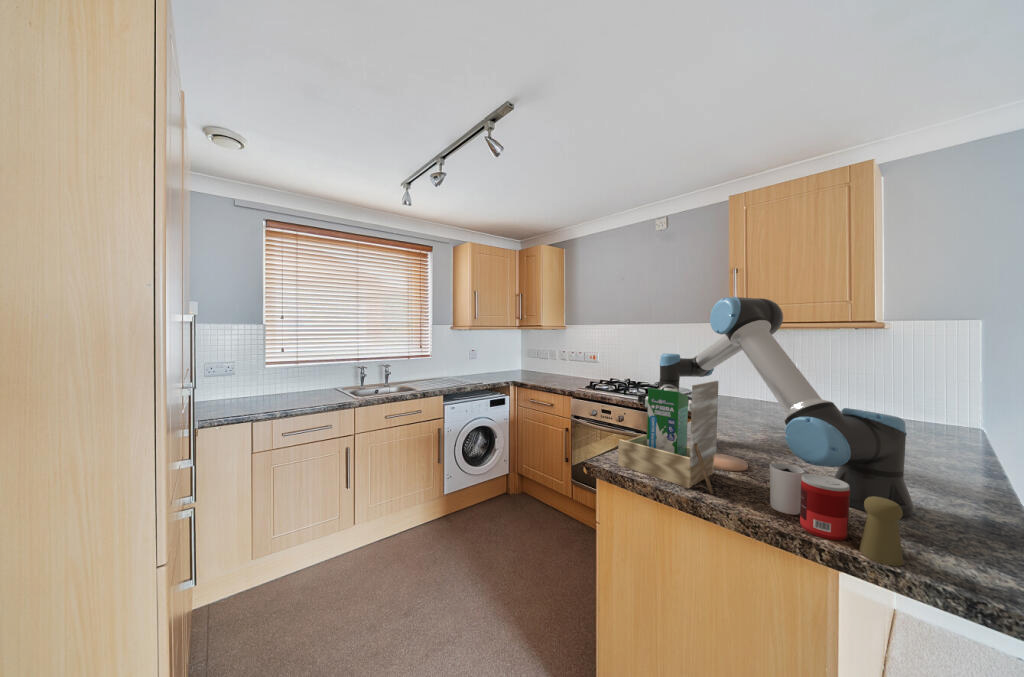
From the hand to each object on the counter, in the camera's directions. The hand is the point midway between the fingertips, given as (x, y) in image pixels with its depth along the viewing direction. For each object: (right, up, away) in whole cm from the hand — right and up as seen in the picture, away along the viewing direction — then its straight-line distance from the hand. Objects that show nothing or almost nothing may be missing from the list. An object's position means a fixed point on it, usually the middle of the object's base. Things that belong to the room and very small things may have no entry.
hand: (667, 405), depth 123 cm
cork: (+19, -20, -52) cm, 59 cm away
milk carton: (-4, -18, -8) cm, 20 cm away
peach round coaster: (+17, -18, -3) cm, 25 cm away
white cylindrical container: (+14, -19, -33) cm, 41 cm away
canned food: (+15, -19, -43) cm, 50 cm away
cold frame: (-3, -18, -11) cm, 22 cm away
